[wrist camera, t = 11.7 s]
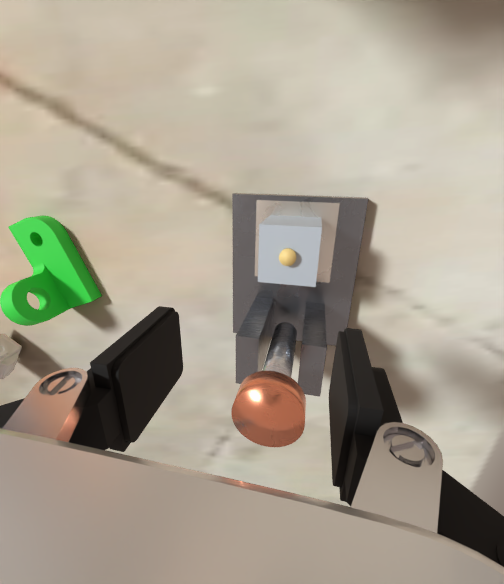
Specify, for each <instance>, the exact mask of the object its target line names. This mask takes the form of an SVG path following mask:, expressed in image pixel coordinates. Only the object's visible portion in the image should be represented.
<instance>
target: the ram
mask: <svg viewBox="0 0 504 584" xmlns="http://www.w3.org/2000/svg"><path fill="white" fill-rule="evenodd" d="M296 337H297V330H296V328H295V327H294V326H293V325H292V324H290V323H287V322H282V323H279V324H278V325H277V326H276V327H275V329H274V333H273V336H272V340H271V343H270V347H269V350H268V354H267V357H266V361H265V364H264V368H263V371H259V372H255V373H253V374H251V375H249V376H248V377H246V378H245V379H244V380H243V382H242V383H241V385H240V388H239V390H238V393H237V396H236V399H235V401H234V404H233V407H232V419H233V422H234V424H235V426H236V428H237V429H238V430H239V432H240V433H241V434H242V435H244V436H245V437H246V438H247V439H249V440H251V441H252V442H255V443H257V444H260V445H263V446H268V447H282V446H286V445H289V444H292V443H293V442H295V441H296V440H297V439H298V438H299V437H300V436H301V435H302V433H303V430H304V426H305V408H306V399H305V395H304V392H303V390H302V388H301V387H300V386H299V384H298V383H297V382H296V381H294V380H293V379H292V378H291V374H292V367H293V359H294V352H295V345H296Z"/></svg>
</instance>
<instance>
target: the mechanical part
mask: <svg viewBox="0 0 504 584" xmlns="http://www.w3.org/2000/svg"><path fill="white" fill-rule="evenodd" d="M9 229H10V231H11V232H12V234H13V236H14V237H15V239H16V241H17V242H18V244H19V246H20V247H21V249H22V250H23V252H24V254H25V255H26V257H27V259H28V260H29V262H30V264H31V265H32V267H33V270H34V272H33V275H32V276H31V277H28V278H25V279H23V280H20V281H18V282H15V283H13V284H11V285H9V286H8V287H6V288H5V290H4V291H3V293H2V295H1V299H0V304H1V308H2V311H3V312H4V314H5V315H6V316H7V317H8V318H9V319H10V320H11V321H13V322H15V323H17V324H20V325H27V326H28V325H35V324H38V323H41V322H44V321H47V320H50V319H51V318H53V317H55V316H57V315H59V314H61V313H63V312H65V311H66V310H68V309H70V308H73V307H76V306H79V305H82V304H86V303H89V302H92V301H94V300H96V299H97V298H99V297H101V296H102V295H101V293H100V291H99V290H98V288H97V286H96V284H95V282H94V280H93V279H92V277H91V275H90V273H89V271H88V269H87V268H86V266H85V264H84V262H83V260H82V259H81V257H80V255H79V253H78V251H77V249H76V248H75V246H74V244H73V242H72V240H71V239H70V237H69V235H68V233H67V231H66V230H65V228H64V227H63V226H62V225H61V224H60V223H59V222H58V221H57V220H55V219H54V218H52V217H49V216H37V217H30V218H25V219H23V220H21V221H19V222H17V223H15V224H13V225H11V226H9ZM28 292H30V293H33V294H34V295H36V296H37V298H38V299H39V302H40V307H39V309H38V310H37V309H34V308H32V307H31V306H30V305H29V303H28V301H27V293H28Z"/></svg>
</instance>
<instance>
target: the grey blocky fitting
mask: <svg viewBox="0 0 504 584" xmlns="http://www.w3.org/2000/svg"><path fill="white" fill-rule="evenodd" d="M21 348H22V346H21V345H19V344H18V343H16V342H15V341H14V340H12V339H11V338H9V337H8V336H7V335H5V334H0V379H4V378H6V377H7V376H8V375H9V374H10V373H11V372H12V371H13V370H14V367H15V365H16V362H17V360H18V356H19V353H20V351H21Z"/></svg>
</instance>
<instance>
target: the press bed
mask: <svg viewBox="0 0 504 584" xmlns="http://www.w3.org/2000/svg"><path fill="white" fill-rule="evenodd" d="M367 204H368V198H360V197H332V196H303V195H274V194H246V193H234V194H233V332H234V333H237V335H236V383H239V384H241V383H242V382H243V380H244V379H245V378H246V377H248V376H249V375H251V374H253V373H255V372H259V371H262V368H263V365H264V361H265V358H266V354H267V351H268V348H269V344H270V341H271V337H272V336H273V333H274V329H275V327H276V326H277V325H278V324H279V323H282V322H287V323H290V324H292V325H293V326H294V327H295V328H296V330H297V337H296V341H302V347H301V357H300V368H299V378H298V384H299V386H300V387H301V388H302V390H303V392H304V394H308V395H314V396H320V393H321V386H322V379H323V371H324V364H325V357H326V350H327V344H328V345H336V343H337V337H338V332H339V331H342V332H344V329H345V328H347V325H348V319H349V313H350V307H351V301H352V295H353V289H354V283H355V277H356V271H357V265H358V259H359V252H360V246H361V240H362V234H363V228H364V222H365V216H366V210H367ZM270 215H277V216H299V217H321V220H322V232H321V241H320V251H319V260H318V269H317V279H316V287H309V286H298V285H287V284H275V283H264V282H258V254H259V224H260V223H262V222H263V221H264V220H265V219H266V218H268V217H269V216H270Z"/></svg>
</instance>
